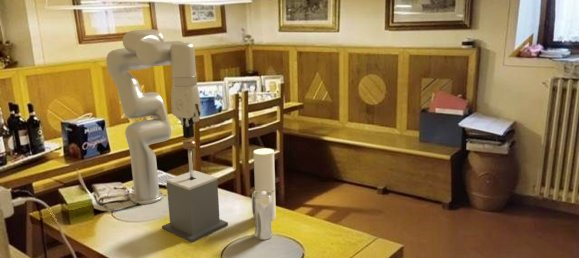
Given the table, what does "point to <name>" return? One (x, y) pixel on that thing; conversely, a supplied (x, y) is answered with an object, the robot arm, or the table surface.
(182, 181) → the block
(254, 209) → the beer glass
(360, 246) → the table surface
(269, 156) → the cylindrical container
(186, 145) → the plunger
